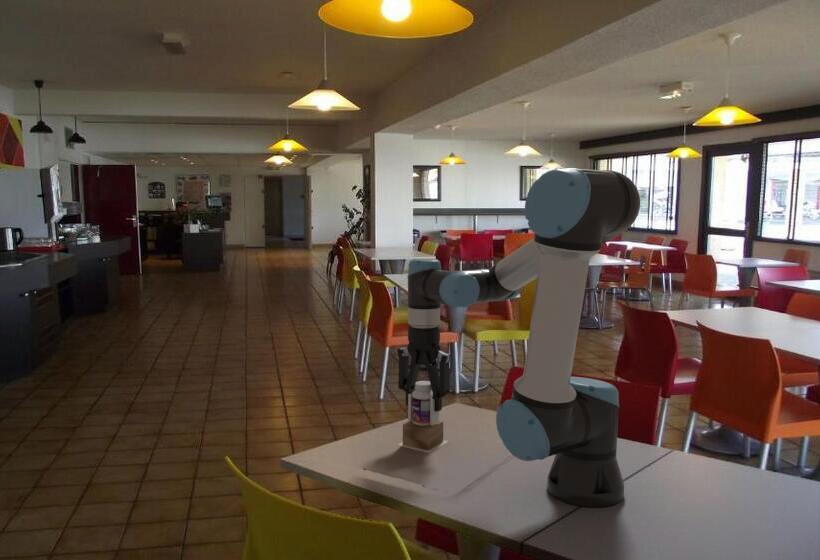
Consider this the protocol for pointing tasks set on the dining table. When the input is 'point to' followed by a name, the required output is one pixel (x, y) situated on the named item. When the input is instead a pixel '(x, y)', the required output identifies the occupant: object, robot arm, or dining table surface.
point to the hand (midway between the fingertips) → (423, 421)
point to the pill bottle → (421, 403)
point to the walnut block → (422, 435)
